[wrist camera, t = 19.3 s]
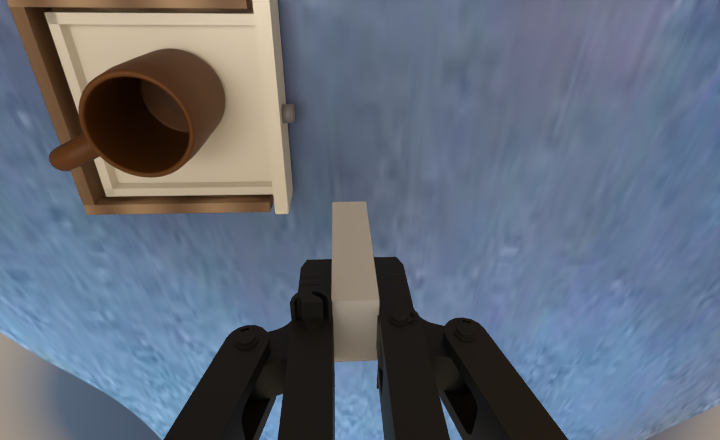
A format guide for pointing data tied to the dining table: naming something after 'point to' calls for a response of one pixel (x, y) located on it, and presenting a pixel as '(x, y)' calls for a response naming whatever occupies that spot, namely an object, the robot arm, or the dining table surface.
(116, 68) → the mug
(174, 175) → the drawer
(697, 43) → the dining table surface
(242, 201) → the frame
